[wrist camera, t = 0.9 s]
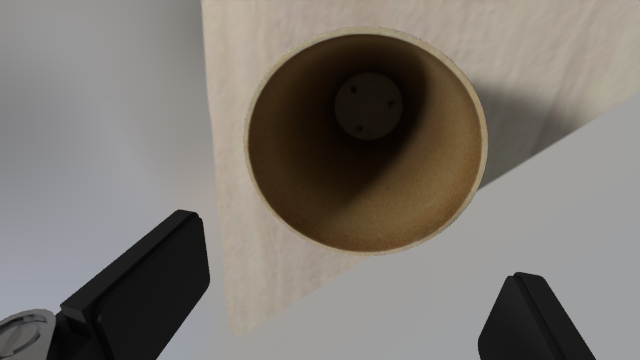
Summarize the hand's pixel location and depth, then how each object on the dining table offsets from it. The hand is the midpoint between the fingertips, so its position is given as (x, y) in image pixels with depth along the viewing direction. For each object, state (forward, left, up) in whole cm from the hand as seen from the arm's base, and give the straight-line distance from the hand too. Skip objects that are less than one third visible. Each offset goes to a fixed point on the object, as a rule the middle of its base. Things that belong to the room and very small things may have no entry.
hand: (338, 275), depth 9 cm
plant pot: (0, 0, -26) cm, 26 cm away
